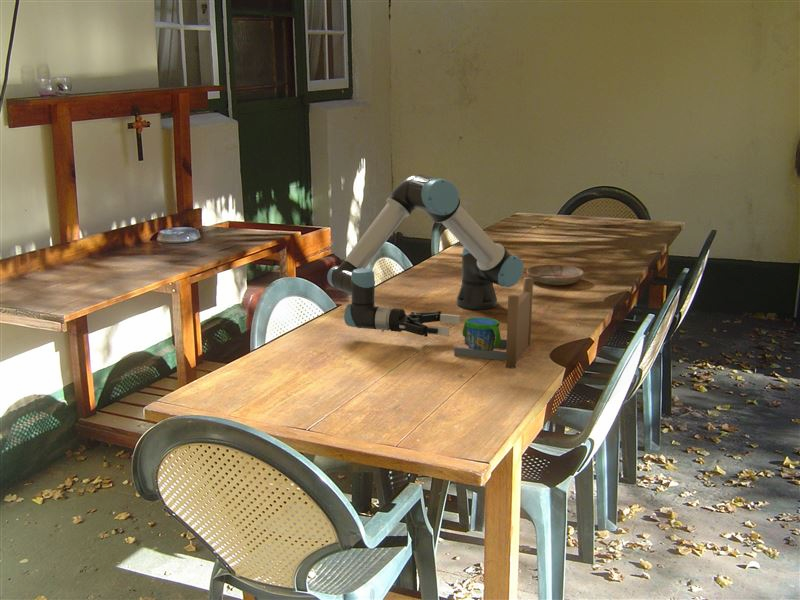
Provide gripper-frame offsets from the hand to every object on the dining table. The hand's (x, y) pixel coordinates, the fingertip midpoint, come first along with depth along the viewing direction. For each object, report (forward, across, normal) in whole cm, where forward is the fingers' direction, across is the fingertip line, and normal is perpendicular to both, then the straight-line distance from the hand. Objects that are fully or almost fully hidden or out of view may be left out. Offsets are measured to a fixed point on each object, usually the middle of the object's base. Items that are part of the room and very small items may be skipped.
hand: (454, 325), depth 297 cm
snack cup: (+9, +2, -7) cm, 12 cm away
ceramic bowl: (+17, -99, -8) cm, 101 cm away
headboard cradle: (+12, 0, -8) cm, 14 cm away
